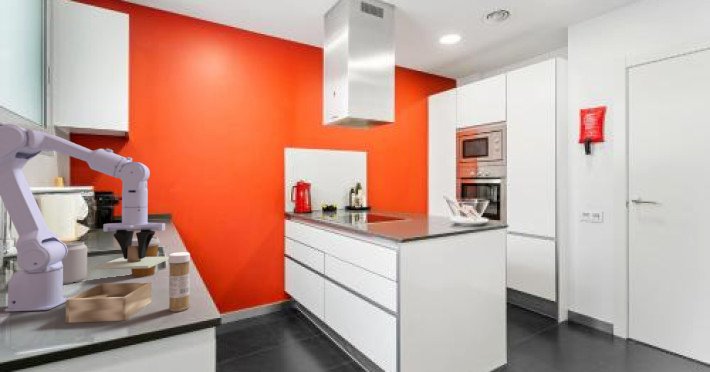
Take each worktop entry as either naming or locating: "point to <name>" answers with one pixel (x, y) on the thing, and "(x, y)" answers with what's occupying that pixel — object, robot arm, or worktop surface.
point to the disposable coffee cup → (150, 252)
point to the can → (75, 263)
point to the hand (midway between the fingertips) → (134, 258)
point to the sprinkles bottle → (179, 281)
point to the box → (108, 302)
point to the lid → (131, 261)
